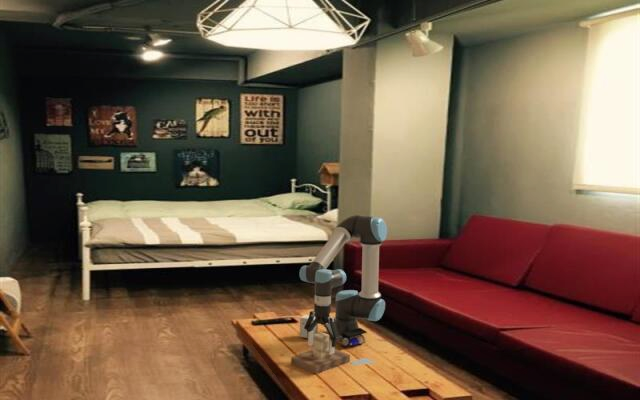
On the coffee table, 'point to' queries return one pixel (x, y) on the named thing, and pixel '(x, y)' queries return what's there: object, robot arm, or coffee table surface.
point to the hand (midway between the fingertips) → (321, 349)
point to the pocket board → (319, 361)
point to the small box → (302, 324)
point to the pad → (362, 361)
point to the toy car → (355, 332)
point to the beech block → (321, 346)
